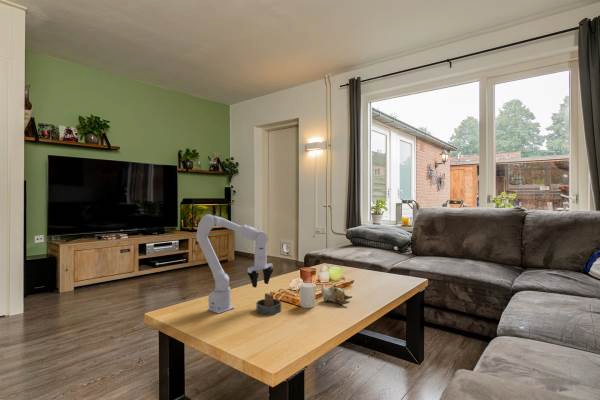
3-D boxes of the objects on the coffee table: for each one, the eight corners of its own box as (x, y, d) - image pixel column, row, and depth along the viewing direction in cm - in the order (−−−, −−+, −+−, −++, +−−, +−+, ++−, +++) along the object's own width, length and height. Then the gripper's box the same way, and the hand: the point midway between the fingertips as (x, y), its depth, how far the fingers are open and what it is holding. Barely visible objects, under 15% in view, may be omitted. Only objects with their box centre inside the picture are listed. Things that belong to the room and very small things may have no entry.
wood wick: (269, 311, 147) (269, 296, 147) (261, 309, 150) (261, 294, 150) (276, 308, 151) (276, 294, 151) (268, 306, 154) (268, 292, 154)
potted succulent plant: (324, 280, 170) (353, 284, 165) (323, 296, 170) (352, 302, 165) (318, 285, 160) (349, 291, 155) (317, 303, 160) (347, 309, 155)
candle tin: (269, 316, 143) (269, 308, 143) (251, 310, 150) (251, 303, 150) (285, 309, 152) (285, 302, 152) (268, 304, 158) (268, 297, 158)
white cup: (314, 309, 152) (314, 287, 152) (297, 307, 154) (297, 286, 154) (317, 303, 160) (317, 283, 160) (301, 302, 162) (301, 282, 161)
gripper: (255, 260, 148) (254, 290, 148) (277, 255, 159) (277, 283, 159) (244, 258, 152) (244, 287, 153) (267, 253, 163) (266, 281, 164)
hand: (260, 285), depth 156 cm, fingers open, 7 cm apart
